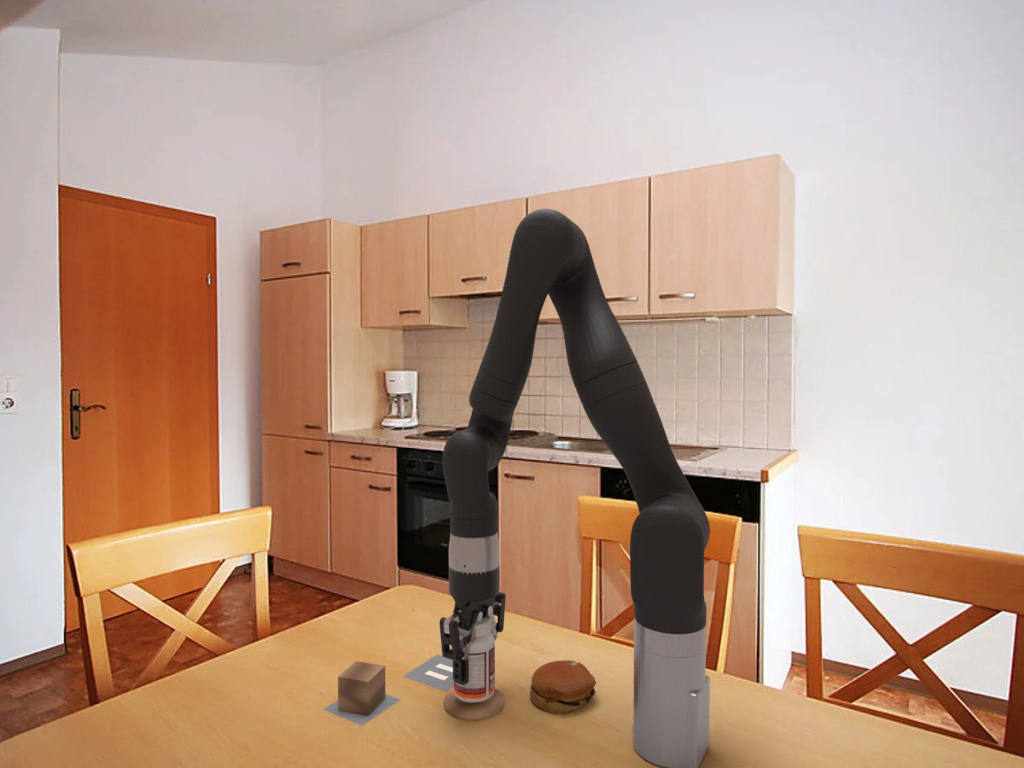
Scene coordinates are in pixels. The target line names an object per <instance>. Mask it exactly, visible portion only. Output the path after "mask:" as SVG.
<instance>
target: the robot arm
mask: <svg viewBox="0 0 1024 768" xmlns="http://www.w3.org/2000/svg"><path fill="white" fill-rule="evenodd" d="M548 296H549V299H550V300H551V303H552V304H553V307H554V309H555V311H556V313H557V315H558V318H559V321H560V324H561V327H562V333H563V338H564V345H565V353H566V354H565V355H566V361H567V364H568V370H569V373H570V377H571V379H572V380H571V381H572V383H573V386H574V388H575V391H576V393H577V396H578V398H579V400H580V403H581V405H582V408H583V410H584V412H585V415H586V416H587V418H588V420H589V422H590V424H591V426H592V428H593V429H594V430H595V432H596V434H597V435H598V437H599V438H600V440H602V442H603V443H604V445H605V446H606V447H607V449H609V450H610V452H611V454H612V455H613V456H614V457H615V459H616V460H617V462H618V463H619V465H620V466H621V468H622V469H623V472H624V473H625V476H626V477H627V480H628V482H629V483H628V484H629V485H630V488H631V491H632V494H633V497H634V499H635V502H636V506H637V509H638V512H639V513H638V514H637V516H636V517H635V519H634V521H633V523H632V526H631V531H630V539H629V540H630V541H629V571H630V572H629V573H630V579H629V580H630V597H631V600H632V602H633V609H634V610H633V615H634V616H633V695H632V696H633V698H632V700H633V702H632V704H633V705H632V707H633V708H632V709H633V710H632V711H633V715H632V719H633V721H632V744H633V748H634V750H635V751H636V753H637V754H638V755H639V756H640V757H641V758H643V759H644V760H646V761H647V762H650V763H652V764H653V765H657V766H660V767H663V768H699V767H700V764H701V763H702V761H703V759H704V757H705V755H706V753H707V751H708V748H709V746H710V702H711V701H710V699H711V698H710V697H711V695H710V694H711V693H710V692H711V686H710V685H711V677H710V676H709V675H707V674H706V671H707V669H706V667H707V666H706V665H707V664H706V658H707V656H706V655H707V653H706V652H707V611H708V610H707V603H706V601H705V592H704V591H705V590H704V588H705V579H704V578H705V550H706V548H707V546H708V543H709V540H710V534H711V529H710V521H709V519H708V516H707V513H706V511H705V510H704V507H703V506H702V503H701V502H700V501H699V498H698V497H697V495H696V493H695V492H694V490H693V489H692V488H693V487H691V485H690V483H689V481H688V480H687V477H686V475H685V473H684V472H683V470H682V469H681V466H680V465H679V462H678V461H677V458H676V456H675V455H674V452H673V450H672V447H671V445H670V442H669V439H668V437H667V434H666V430H665V427H664V424H663V422H662V419H661V417H660V414H659V411H658V408H657V407H656V404H655V401H654V397H653V395H652V393H651V390H650V387H649V385H648V383H647V380H646V378H645V375H644V373H643V371H642V369H641V366H640V364H639V362H638V360H637V358H636V355H635V353H634V351H633V349H632V347H631V345H630V343H629V341H628V338H627V337H626V335H625V333H624V331H623V329H622V327H621V325H620V323H619V321H618V319H617V318H616V316H615V313H614V312H613V311H612V310H613V309H611V307H610V304H609V303H608V300H607V298H606V296H605V293H604V290H603V287H602V284H601V281H600V278H599V275H598V272H597V269H596V266H595V263H594V258H593V255H592V251H591V249H590V244H589V241H588V239H587V237H586V234H585V233H584V231H583V230H582V229H581V227H579V225H577V223H576V222H574V221H572V220H571V219H570V218H569V217H567V216H566V215H565V214H564V213H562V212H560V211H559V210H556V209H553V208H541V209H536V210H534V211H532V212H530V213H528V214H527V215H526V216H525V217H524V218H523V219H521V220H520V222H519V224H518V226H517V227H516V229H515V232H514V235H513V238H512V242H511V247H510V250H509V257H508V263H507V267H506V272H505V278H504V283H503V286H502V292H501V295H500V299H499V304H498V308H497V312H496V315H495V316H496V317H495V320H494V322H493V327H492V330H491V333H490V337H489V340H488V343H487V346H486V348H485V351H484V354H483V357H482V360H481V362H480V365H479V368H478V371H477V373H476V377H475V379H474V381H473V385H472V387H471V390H470V394H469V400H468V402H469V405H470V407H471V408H472V411H471V415H470V418H469V422H468V424H467V427H466V428H465V429H462V430H459V431H456V432H455V433H453V434H452V435H450V436H449V437H448V439H447V441H446V442H445V444H444V448H443V452H442V472H443V476H444V481H445V486H446V491H447V496H448V500H449V502H450V510H449V511H450V512H449V513H450V517H449V519H450V520H449V521H450V527H449V528H450V530H449V531H450V537H449V544H448V593H449V595H450V596H451V598H452V599H453V600H454V606H453V610H452V615H450V616H449V617H443V616H442V617H441V618H440V619H439V623H438V624H439V633H440V645H441V656H443V657H445V658H448V659H451V660H453V679H454V681H455V682H456V683H458V684H461V685H466V684H467V683H468V682H469V659H468V655H469V651H470V647H471V645H472V644H474V642H475V639H476V629H475V628H476V626H477V625H479V624H480V623H481V620H482V619H484V618H485V617H486V618H490V617H491V632H490V633H491V634H492V635H493V637H494V640H495V641H497V639H498V633H502V632H503V631H504V627H505V626H504V625H505V612H506V611H505V610H506V593H505V592H501V591H500V587H501V586H500V582H501V581H500V572H501V571H500V558H501V557H500V553H501V552H500V539H499V532H498V531H499V529H498V527H499V521H498V520H499V519H498V515H499V513H498V499H497V497H496V495H495V494H494V493H493V492H491V491H490V485H489V483H490V481H489V472H491V471H492V470H493V469H495V468H496V467H497V466H498V465H499V464H500V462H502V459H503V457H504V454H505V452H506V449H507V446H508V444H509V443H508V442H509V438H510V434H511V428H512V423H513V416H514V414H515V411H516V408H517V407H518V404H519V401H520V398H521V395H522V393H523V391H524V388H525V385H526V383H527V380H528V377H529V373H530V371H531V367H532V362H533V358H534V357H533V356H534V351H535V343H536V335H537V330H538V325H539V321H540V318H541V317H540V316H541V313H542V310H543V308H544V304H545V302H546V300H547V297H548ZM495 616H497V621H496V618H495ZM460 629H463V630H466V631H469V630H470V633H469V635H468V636H467V637H466V636H462V635H460V634H459V631H460ZM460 641H463V642H464V646H463V650H461V649H460ZM450 646H451V647H450Z"/></svg>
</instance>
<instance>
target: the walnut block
mask: <svg viewBox="0 0 1024 768" xmlns="http://www.w3.org/2000/svg"><path fill="white" fill-rule="evenodd" d="M385 694H386V665H382V664H378V663H377V664H376V663H370V662H365V661H364V662H363V661H357V660H356V661H354V662H353V663H352V664H351V665H349V666H348V667H347V668H346V669H345V670H344V671H343V672H341V673H340V674H339V675H338V676H337V698H338V699H337V700H338V710H340V711H345V712H350V713H356V714H361V715H367V716H369V715H370V714H371V713H372V712H373V711H374V710H375V709H376V708H377V707H378V706H379V704H380V703H381V702H382V701H383V700H384V699H385Z"/></svg>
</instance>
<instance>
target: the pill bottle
mask: <svg viewBox="0 0 1024 768" xmlns="http://www.w3.org/2000/svg"><path fill="white" fill-rule="evenodd" d="M475 629H476V639H475V642H474V644H472V645H471V647H470V651H469V655H468V659H469V682H468V683H467V684H466V685H461V684H458V683H456V682H455V681H454V687H453V689H454V694H455V695H456V697H457V698H458V699H460V700H462V701H464V702H471V703H474V702H481V701H485V700H487V699H489V698H490V697H491V696H492V695H493V693H494V691H495V689H496V687H495V686H496V681H495V680H496V676H495V675H496V663H495V662H496V659H495V658H496V640H494V637H493V635H492V634H491V633H490V632H491V617H490V618H486V617H485V618H484V619H482V620H481V623H480V624H479V625H477V626H476V628H475ZM469 633H470V630H469V631H466V630H463V629H460V631H459V634H460V635H462V636H466V637H467V636H468V635H469ZM463 646H464V642H463V641H460V649H461V650H463Z"/></svg>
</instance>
